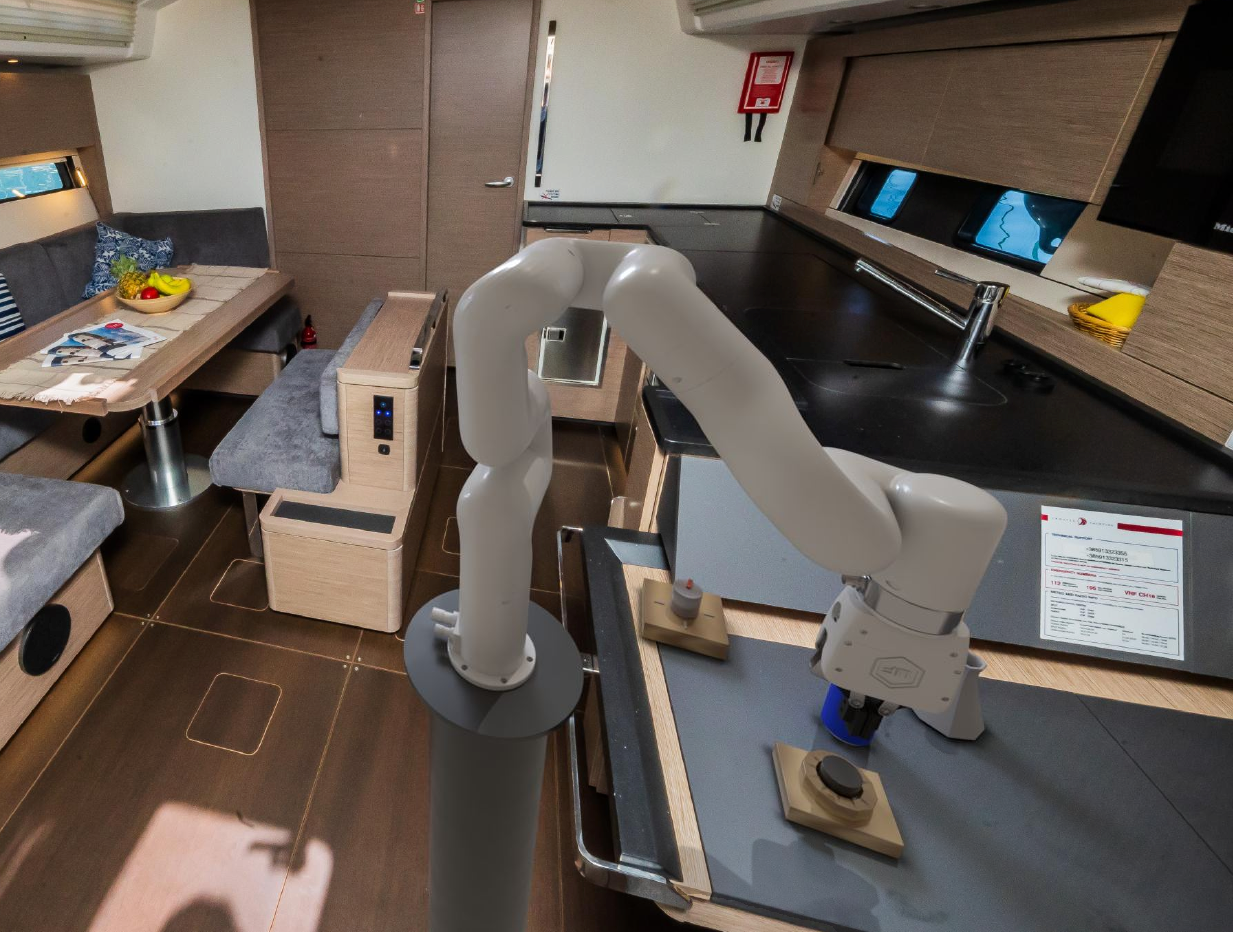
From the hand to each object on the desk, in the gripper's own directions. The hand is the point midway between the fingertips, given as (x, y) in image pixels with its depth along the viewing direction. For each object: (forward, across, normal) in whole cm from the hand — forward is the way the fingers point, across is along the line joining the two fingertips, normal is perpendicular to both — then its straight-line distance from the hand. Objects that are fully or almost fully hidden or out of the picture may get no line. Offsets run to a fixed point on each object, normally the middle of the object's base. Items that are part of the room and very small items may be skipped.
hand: (854, 726), depth 63 cm
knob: (+10, -13, +22) cm, 27 cm away
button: (+9, +1, 0) cm, 9 cm away
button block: (+12, +1, 0) cm, 12 cm away
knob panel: (+13, -13, +22) cm, 29 cm away
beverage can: (+12, +5, +11) cm, 17 cm away
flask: (+12, +17, +18) cm, 27 cm away
